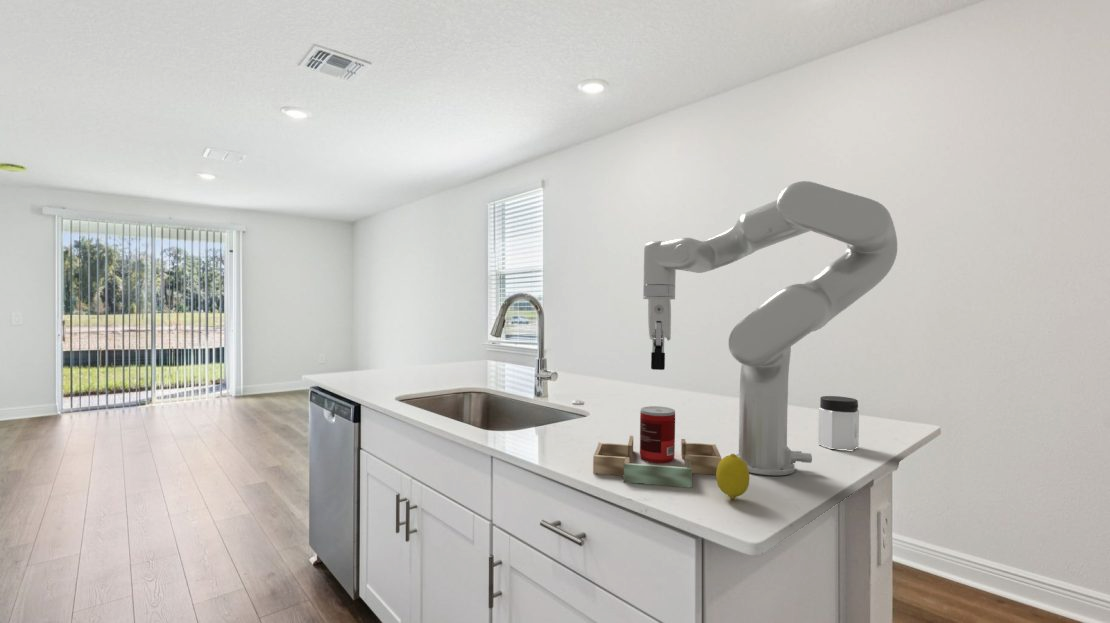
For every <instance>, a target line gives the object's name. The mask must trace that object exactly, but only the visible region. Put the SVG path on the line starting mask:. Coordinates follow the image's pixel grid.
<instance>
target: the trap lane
mask: <svg viewBox="0 0 1110 623" xmlns="http://www.w3.org/2000/svg"><path fill="white" fill-rule="evenodd" d="M680 440H681V442H680V443H681V444H680V446H681V450H680V452H681V454H680V455H681V459H682V460H684V466H672V465H658V464H647V463H646V464H641V463H632V460H633V453H634V435H629V439H628V443H627V444H626V443H625V444H624V443H623V444H622V443H612V442H610V443H609V442H598V445H597V447H596V449H595V451H594V453H593V458H592V459H593V460H592V461H593V462H592V474H596V473H598V474H599V475H609V474H613V475H612V476H622V475H624V476H623V483H626V482H630V484H638V483H644V484H643V485H651V484H657V485H656V486H665V487H676V488H677V487H678V488H688V489H689V488H690V489H692V486H693V485H692V483H693V481H692V476H693V475H692V474H697V475H698V474H700V475H703V474H704V475H712V474H714V475H713V476H716V472H717V467H718V464H719V462H720V461H721V460H722V455H721V454H720V451H719V449H718V446H717V445H716V444H715V443H714V444H713V443H698V442H686V439H685V438H681V439H680ZM630 462H631V463H630Z"/></svg>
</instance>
